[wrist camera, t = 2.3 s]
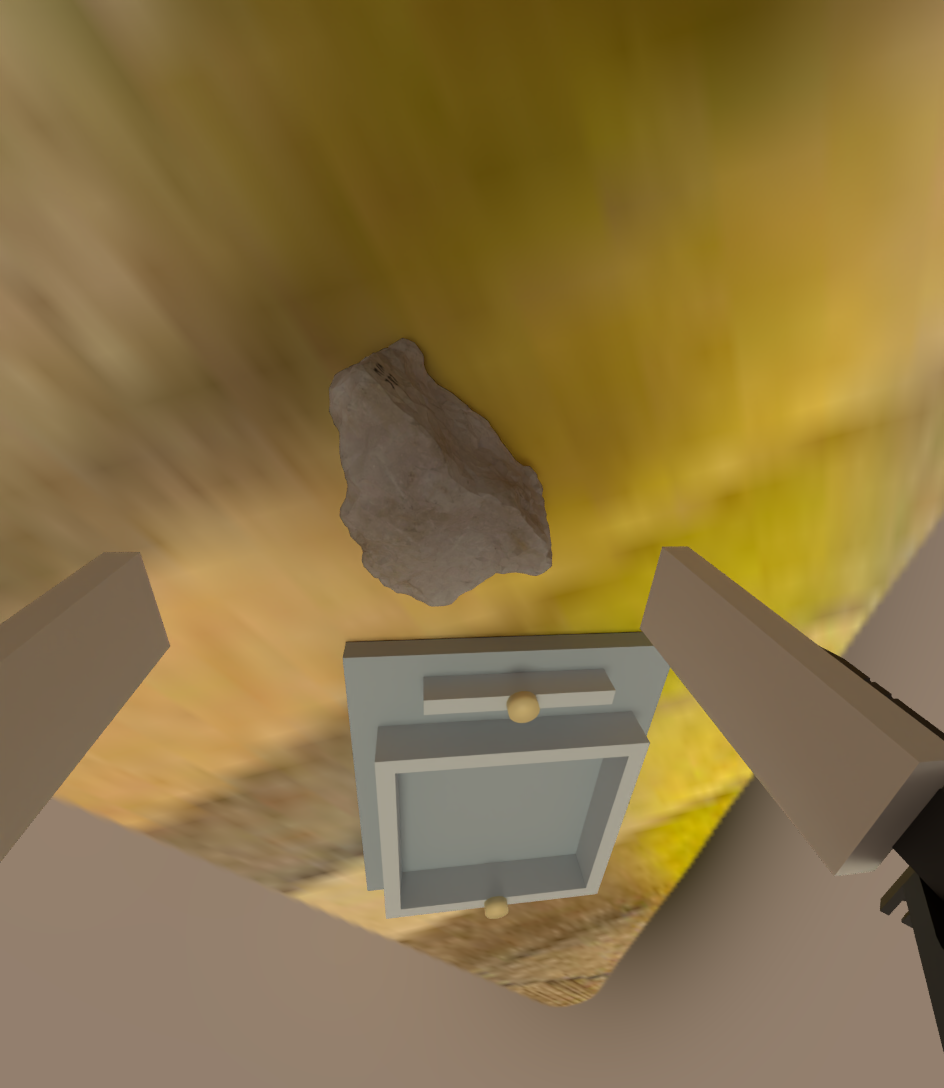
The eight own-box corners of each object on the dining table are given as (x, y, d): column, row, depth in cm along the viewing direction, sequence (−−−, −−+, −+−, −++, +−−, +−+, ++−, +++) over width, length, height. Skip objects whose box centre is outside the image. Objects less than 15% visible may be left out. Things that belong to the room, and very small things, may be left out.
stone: (413, 591, 21) (409, 674, 16) (272, 423, 17) (207, 462, 12) (552, 508, 20) (598, 569, 15) (438, 305, 16) (446, 291, 11)
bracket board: (346, 642, 22) (333, 701, 19) (666, 631, 25) (708, 682, 21) (369, 872, 32) (363, 939, 28) (596, 848, 34) (617, 908, 31)
